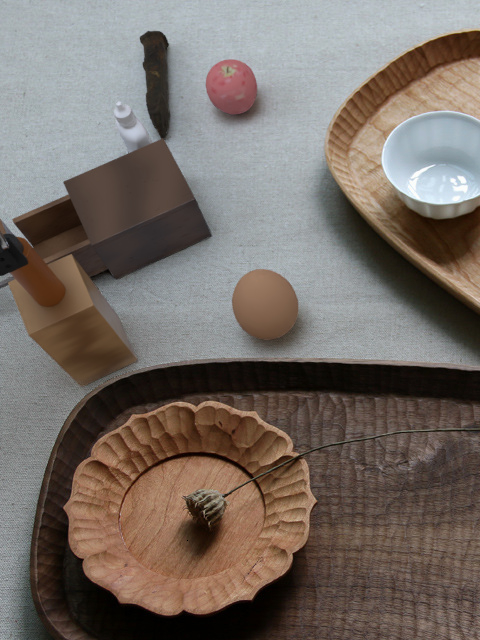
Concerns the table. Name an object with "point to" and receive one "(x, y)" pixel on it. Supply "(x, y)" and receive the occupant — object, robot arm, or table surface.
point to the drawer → (57, 235)
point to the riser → (76, 326)
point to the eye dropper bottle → (130, 128)
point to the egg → (265, 304)
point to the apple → (231, 86)
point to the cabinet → (137, 209)
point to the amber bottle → (37, 275)
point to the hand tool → (156, 79)
